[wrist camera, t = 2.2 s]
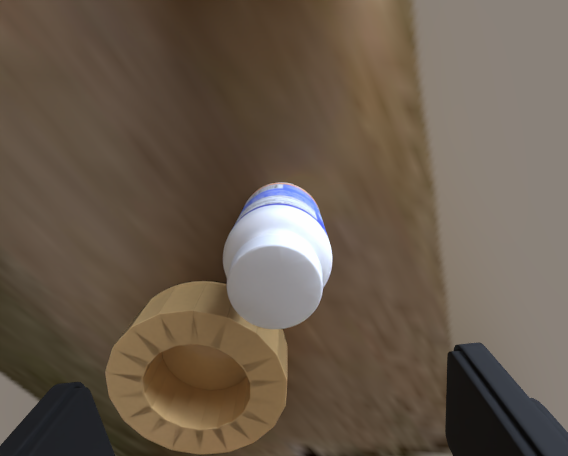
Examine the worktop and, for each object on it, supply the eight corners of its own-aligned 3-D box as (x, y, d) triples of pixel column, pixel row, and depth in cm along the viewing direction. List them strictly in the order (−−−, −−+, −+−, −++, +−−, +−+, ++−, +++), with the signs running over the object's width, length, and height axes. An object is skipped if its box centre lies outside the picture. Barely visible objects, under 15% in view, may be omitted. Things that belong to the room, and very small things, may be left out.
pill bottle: (308, 263, 24) (320, 358, 15) (234, 245, 23) (199, 331, 14) (330, 191, 22) (360, 247, 13) (251, 171, 22) (223, 213, 12)
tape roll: (111, 290, 25) (79, 322, 21) (276, 271, 24) (274, 301, 20) (153, 414, 29) (133, 460, 25) (296, 402, 28) (297, 447, 24)
